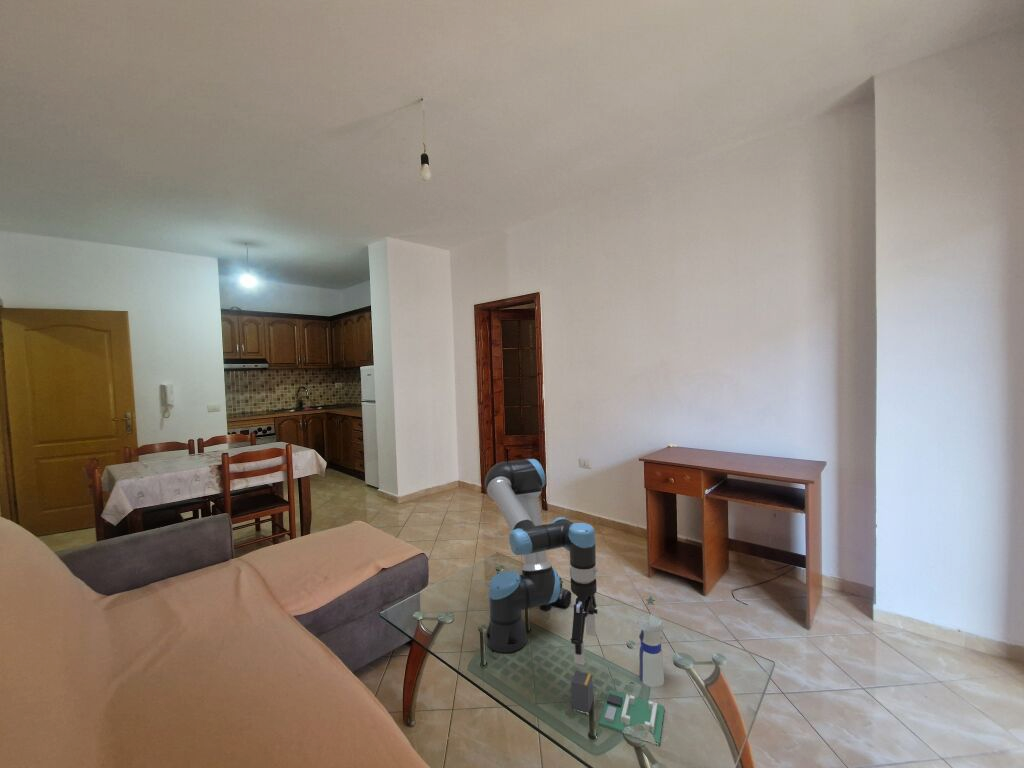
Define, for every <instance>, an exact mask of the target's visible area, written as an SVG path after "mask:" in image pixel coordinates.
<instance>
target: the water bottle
mask: <svg viewBox="0 0 1024 768" xmlns="http://www.w3.org/2000/svg"><path fill="white" fill-rule="evenodd" d="M644 599H645V600H646V601H647V604H646V605H647V606H648V605H652V606H654V602H655V601H656V599H655V598H653V597H652V596H651V595H650V596H649V597H647V598H646V597H645V598H644ZM635 626H636V628H637V629H638V630H640V632H639V636H638V637H639V639H640V646H639V652H638V653H639V671H638V672H639V673H638V677H639V680H640V681H641V683H643V684H644V685H646V686H647V687H650V688H661V687H663V685H664V684H665V671H664V655H663V654H664V653H663V650H662V642H663V637H662V635H661V632H662V630H664V628H665V625H664V623H663V621H662V618H661V617H659V615H657V614H655V613H650V615H649V619H648V623H647V624H646V621H645V618H644V617H643V614H638V616H637V619H636V625H635Z"/></svg>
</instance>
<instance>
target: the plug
mask: <svg viewBox="0 0 1024 768" xmlns="http://www.w3.org/2000/svg"><path fill="white" fill-rule="evenodd" d="M593 684H594V682H593V674H592V673H587V672H582V671H579V670H577V669H576V670H575V672H574V675H573V677H572V679H571V681H570V687H571V690H570V692H571V710H572V709H575V710H579V711H583V712H588V713H589V710H590V707H591V704H592V702H593V703H594V686H593ZM589 714H590V713H589Z"/></svg>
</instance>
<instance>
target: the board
mask: <svg viewBox="0 0 1024 768" xmlns="http://www.w3.org/2000/svg"><path fill="white" fill-rule="evenodd" d="M607 693H608V694H607V697H606V698H605V699H606V700H605V702H604V706H603V709H602V712H601V714H600V718H599V723H598V725H599V726H601V727H603V728H606V729H608V730H611V729H612V731H614V730H615V732H618V733H620V734H623V733H622V731H623V730H624V728H625V727H628V726H634V725H635V724H638V723H639V724H644V725H645V729H646V730H647V731H648V732H650V733H651V734H652V735H653V737H654V740H655V742H656V743H658V744H660V745H661V739H660V737H661V736H662V732H663V731H662V730H663V725H662V722H663V723H664V717H663V715H664V716H665V705H662V704H659V703H657V702H654V701H650V700H645V699H641V698H638V697H635V696H634V695H631V694H629V693H622V692H618V691H616V690H612V689H609V690H608V692H607ZM661 731H662V732H661ZM661 738H662V737H661Z"/></svg>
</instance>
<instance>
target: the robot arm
mask: <svg viewBox="0 0 1024 768" xmlns="http://www.w3.org/2000/svg"><path fill="white" fill-rule="evenodd" d="M545 484H546V474H545V471H544V469H543V467H542V464H541V463H540V461H538V460H537V459H536V458H525V459H519V460H509V461H500V462H498V463H495V464H494V465H493V466H492V467H491V468H490V469H489V470H488V472H487V473H486V476H485V479H484V488H485V489H484V490H485V491H486V493H487V494H488V496H489V498H491V499H493V500H494V502H495V504H496V506H497V507H498V510H499V512H500V513H501V515H502V517H503V519H504V521H505V522H506V524H507V526H508V527H509V529H510V530H509V531H510V532H509V539H508V541H509V546H510V549H511V552H512V553H513V554H514V555H515V556H523V557H524V558H523V559H524V565H523V566H521V567H522V568H521V573H522V574H519V573H518V571H513V570H511V571H510V570H504V571H501V572H499V573H496V574H494V576H493V577H492V578H491V579H489V580H490V581H489V584H488V600H489V601H488V602H489V621H488V626H487V629H486V632H485V643H486V645H487V646H488V647H489V648H490V649H491V650H492V651H496V652H497V653H512V652H515V651H518V650H520V649H522V648H523V647H524V646H525V645H526V643H527V641H528V632H527V628H526V626H525V623H524V621H523V618H522V611H523V610H528V609H531V608H535V607H536V608H537V607H540V606H541V605H547V604H549V603H552V602H555V601H556V600H557V599H558V597H559V594H560V579H559V577H558V576H559V572H558V570H556V568H553V565H552V563H550V562H549V561H548V558H547V551H551V550H555V549H561V548H564V549H566V550H567V551H568V552H569V574H570V575H569V576H570V590H571V591H570V592H572V593H573V594H574V595H575V596H576V599H575V603H574V604H573V617H572V618H573V619H572V630H571V638H570V643H571V644H573V653H574V654H573V658H574V663H575V664H577V665H582V666H585V664H586V663H585V659H586V658H585V641H584V634H585V631H586V635H588V636H592V637H596V615H597V614H598V609H596V608H597V601H596V596H595V594H596V593H597V573H598V571H599V570H598V568H596V565H597V563H596V560H597V557H596V555H597V554H596V550H597V549H596V543H597V542H596V535H595V534H596V533H595V528H594V526H592V525H591V524H589V523H586V522H575V523H574V522H573V521H572V520H570V519H567V518H566V517H563V516H562V517H557V518H555V519H554V520H553V521H552V522H551V523H546V524H543V520H542V513H541V506H540V499H539V496H540V495H541V493H542V488H543V487H544V486H545Z"/></svg>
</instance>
